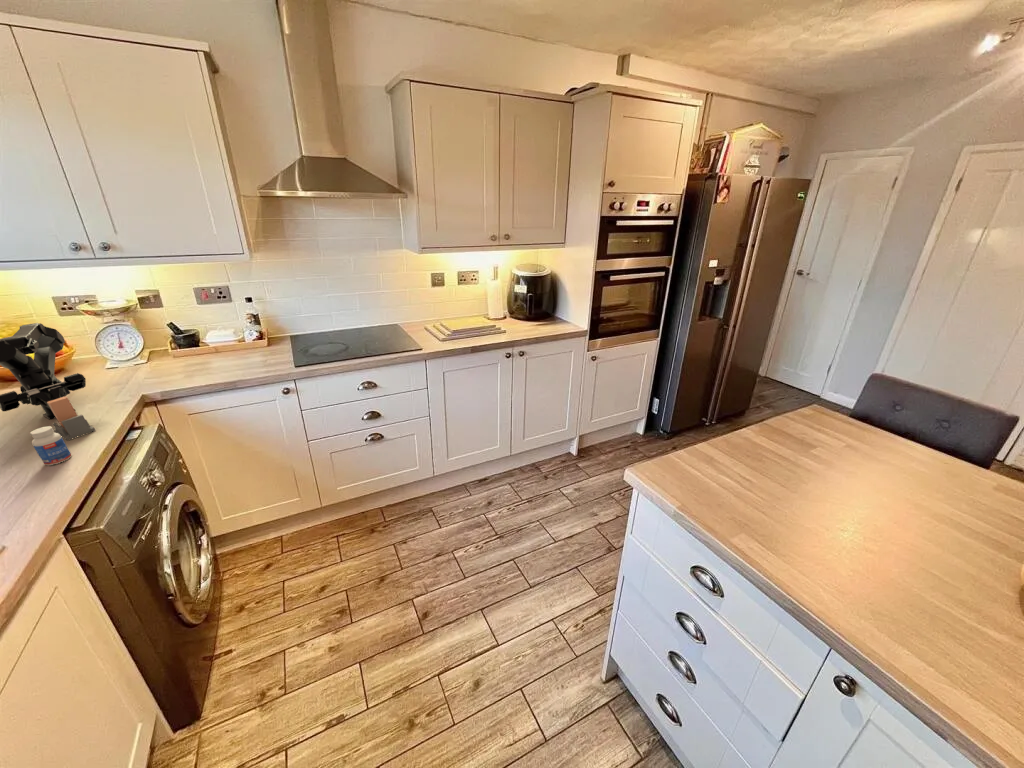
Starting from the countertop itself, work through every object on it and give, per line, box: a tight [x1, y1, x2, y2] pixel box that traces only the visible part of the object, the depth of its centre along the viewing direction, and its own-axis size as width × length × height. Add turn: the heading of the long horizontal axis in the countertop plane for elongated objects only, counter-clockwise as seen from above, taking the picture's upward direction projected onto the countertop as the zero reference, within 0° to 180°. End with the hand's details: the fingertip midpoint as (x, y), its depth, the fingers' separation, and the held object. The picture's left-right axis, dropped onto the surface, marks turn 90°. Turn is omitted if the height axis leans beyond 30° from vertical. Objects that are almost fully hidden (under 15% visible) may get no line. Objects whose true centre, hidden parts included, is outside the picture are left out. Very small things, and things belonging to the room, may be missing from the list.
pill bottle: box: [30, 425, 72, 466], centre depth 111 cm, size 6×5×10 cm
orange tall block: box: [47, 396, 79, 432], centre depth 124 cm, size 2×4×10 cm, turn 151°
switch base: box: [51, 414, 96, 441], centre depth 125 cm, size 10×6×6 cm, turn 62°
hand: (61, 412), depth 125 cm, fingers closed
